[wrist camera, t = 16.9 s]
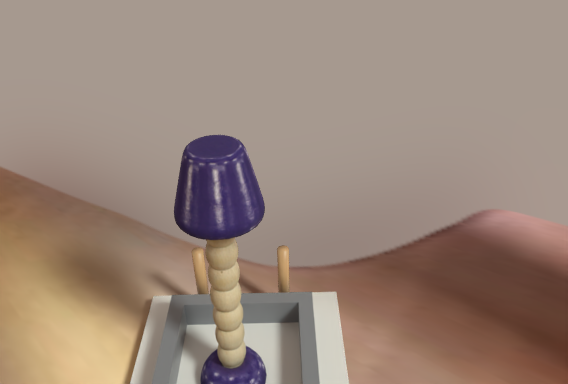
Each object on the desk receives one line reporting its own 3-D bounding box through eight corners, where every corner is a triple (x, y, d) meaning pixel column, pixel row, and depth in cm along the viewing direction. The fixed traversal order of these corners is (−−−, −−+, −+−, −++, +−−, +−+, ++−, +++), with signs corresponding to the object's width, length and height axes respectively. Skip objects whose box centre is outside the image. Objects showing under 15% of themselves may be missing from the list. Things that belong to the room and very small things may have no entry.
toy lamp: (195, 353, 36) (160, 132, 26) (262, 338, 37) (250, 120, 27) (205, 414, 32) (168, 180, 23) (280, 396, 33) (273, 164, 24)
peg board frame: (335, 301, 41) (338, 240, 37) (360, 483, 29) (368, 419, 26) (155, 305, 41) (142, 245, 37) (107, 490, 29) (82, 425, 26)
